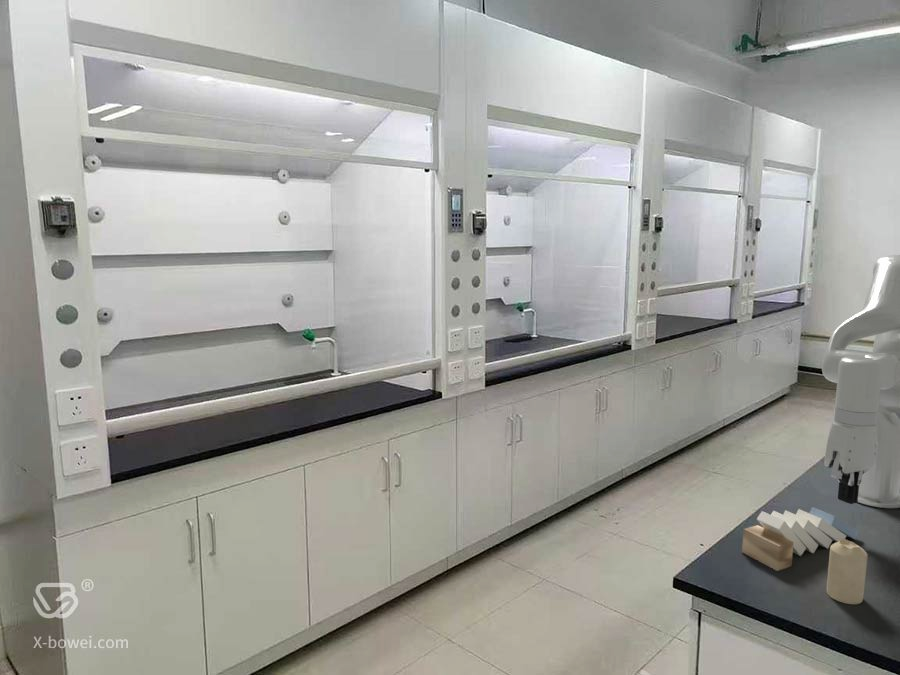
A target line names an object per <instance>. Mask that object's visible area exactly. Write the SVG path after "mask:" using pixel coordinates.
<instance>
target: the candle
mask: <svg viewBox="0 0 900 675" xmlns="http://www.w3.org/2000/svg"><path fill="white" fill-rule="evenodd" d="M828 558H829V559H828V568H827V578H826V579H827V581H826V593H827V595H828V596H829V598H831V599H833V600H835V601H837V602H839V603H842V604H847V605H859V604H861V603H862V602H863V600H864V593H865V583H866V575H867V574H866V572H867V563H868V553H867V551H866V550H865V549H864V548H863V547H861V546H859V545H858V544H856V543H855V542H853V541H850V540H848V539H846V538H845V539H842V540H840V541H838V542H834V543H832V544H830V546H829V556H828Z"/></svg>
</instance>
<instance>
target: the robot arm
mask: <svg viewBox="0 0 900 675" xmlns="http://www.w3.org/2000/svg"><path fill="white" fill-rule="evenodd" d="M873 336H874V341H873V346H872V347H873V348H872V351H867V350H857V349H856V350H855V349H847V348H848V347H849V346H850V345H851V344H852V343H854V342H857V341H859V340H861V339H865V338H868V337H873ZM821 371H822V374H823V377H824V378H825V379H826V380H827V381H829V382H832V383H835V384H836V391H835V392H836V393H835V404H834V412H833V422H832V423H831V426H830V428H829V432H828V437H827V441H826V447H825V453H824V464H823V465H824V466H825V468H829V469H831V471H830V472H831V473H830V477H831V478H834V479H837V482H838V491H837V492H838V493H837V499H838V500H839V501H841V502H845V503H847V504H850V505H853V504H857V503H859V504H862V505H866V506H870V507H874V508H875V507H876V508H881V509H882V508H883V509H899V508H900V418H899V417H898V415H897V414H896V413H898V414H900V254H894V255H885V256H882V257H880V258H879V259H876V261H875V263H874V265H873V268H872V279H871V282H870V286H869V289H868V292H867V295H866V298H865V301H864V304H863V309H862V310H861V311H860V312H857V313H855V314H854V315H852V316H851V317H849V318H847V319H846V320H845V321H844V322H842V323H841V324H840V325H839V326H838V327H837V328H836V329H834V331H833V332H832V333H831V335H830V336H829V340H828V343H827V346H826V349H825V351H824V354H823V358H822V363H821Z"/></svg>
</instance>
